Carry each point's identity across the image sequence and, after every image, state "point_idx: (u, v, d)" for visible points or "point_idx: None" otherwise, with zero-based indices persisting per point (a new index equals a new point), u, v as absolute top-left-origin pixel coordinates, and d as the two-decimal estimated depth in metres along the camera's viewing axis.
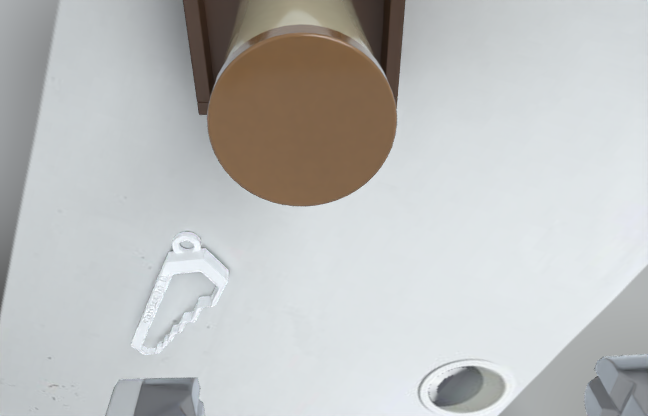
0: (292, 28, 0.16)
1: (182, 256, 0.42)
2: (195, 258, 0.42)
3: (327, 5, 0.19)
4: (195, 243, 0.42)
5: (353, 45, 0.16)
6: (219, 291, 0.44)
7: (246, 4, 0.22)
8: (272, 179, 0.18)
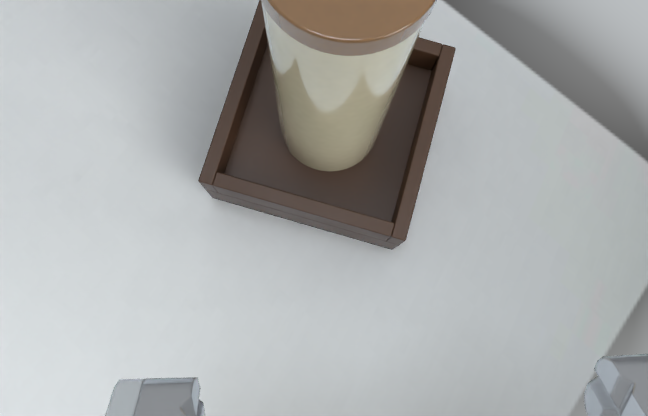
0: None
1: None
2: None
3: (403, 65, 0.21)
4: None
5: (418, 20, 0.16)
6: None
7: None
8: None
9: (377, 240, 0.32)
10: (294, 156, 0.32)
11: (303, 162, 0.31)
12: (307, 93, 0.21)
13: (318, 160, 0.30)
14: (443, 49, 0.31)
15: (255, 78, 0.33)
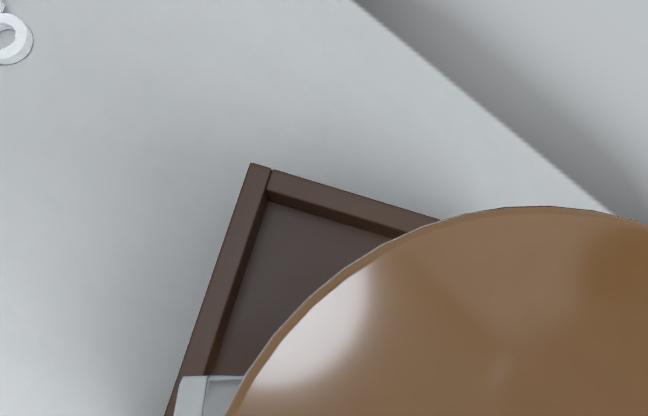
0: None
1: None
2: None
3: None
4: (0, 52, 0.24)
5: None
6: None
7: None
8: (381, 379, 0.04)
9: None
10: None
11: None
12: None
13: None
14: None
15: (238, 291, 0.20)
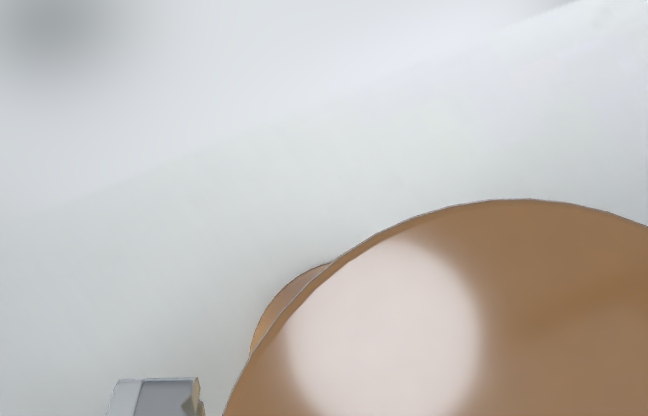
0: None
1: None
2: None
3: None
4: None
5: None
6: None
7: None
8: (376, 352, 0.05)
9: None
10: None
11: None
12: None
13: None
14: None
15: None
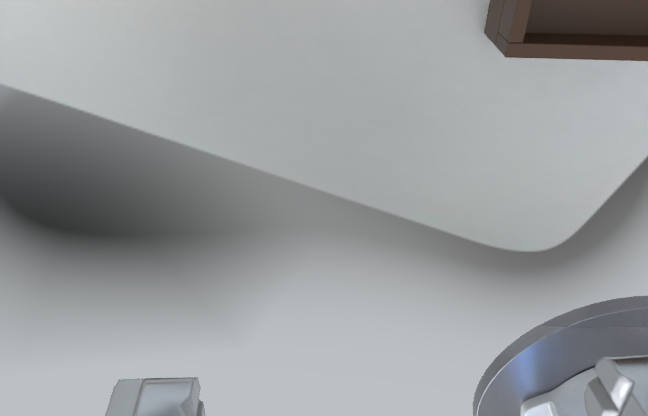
0: None
1: None
2: None
3: None
4: None
5: None
6: None
7: None
8: None
9: (496, 21, 0.31)
10: None
11: None
12: None
13: None
14: None
15: None
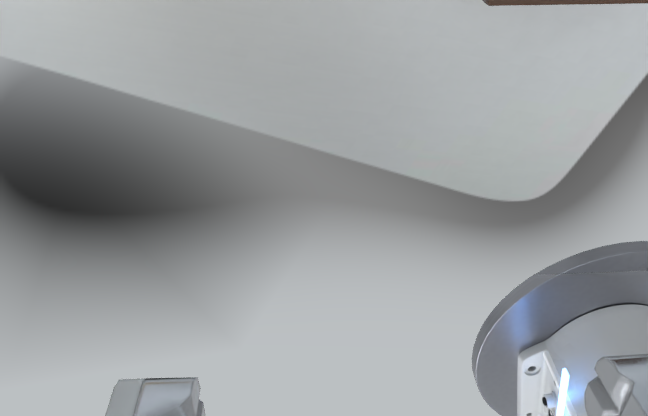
0: None
1: None
2: None
3: None
4: None
5: None
6: None
7: None
8: None
9: None
10: None
11: None
12: None
13: None
14: None
15: None
